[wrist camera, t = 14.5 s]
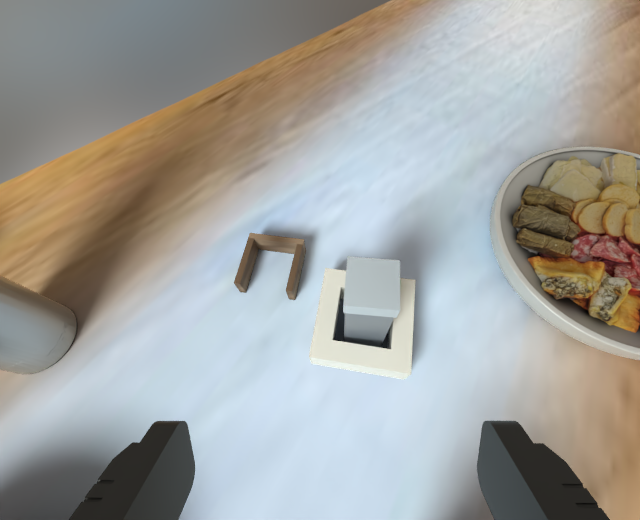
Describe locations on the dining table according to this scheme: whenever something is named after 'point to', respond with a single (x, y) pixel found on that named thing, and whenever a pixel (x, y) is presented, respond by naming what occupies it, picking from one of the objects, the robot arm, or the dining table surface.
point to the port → (356, 355)
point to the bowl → (575, 243)
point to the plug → (370, 299)
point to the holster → (275, 245)
